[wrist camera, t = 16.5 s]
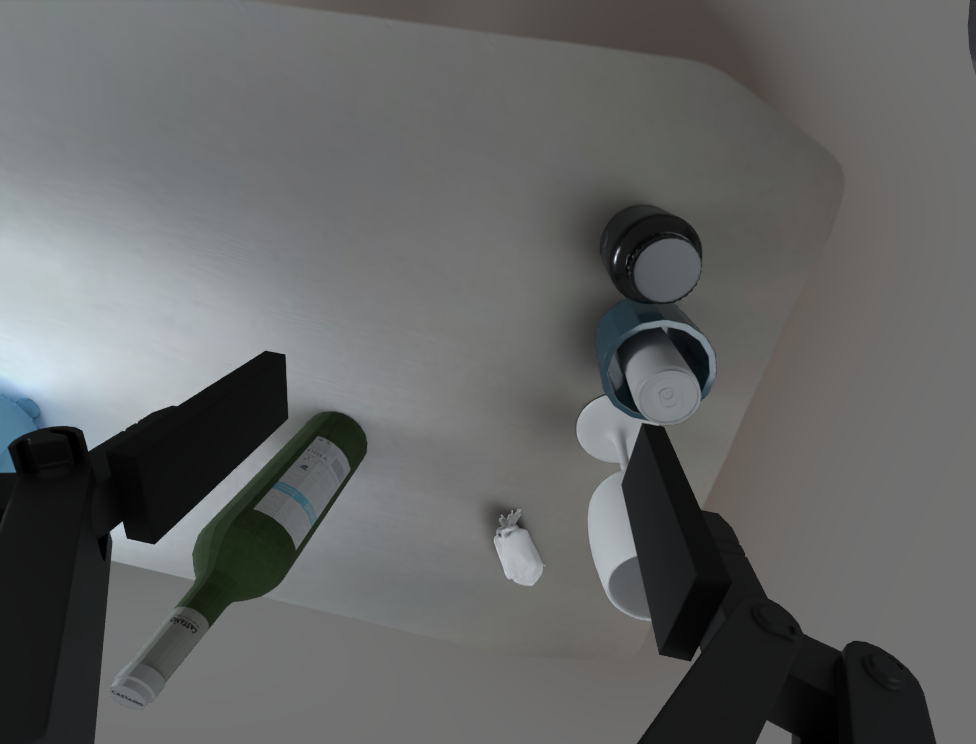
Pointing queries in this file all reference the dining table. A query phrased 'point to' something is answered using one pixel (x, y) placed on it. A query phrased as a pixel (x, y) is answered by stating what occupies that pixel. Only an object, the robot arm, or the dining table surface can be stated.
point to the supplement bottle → (651, 255)
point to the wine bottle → (250, 545)
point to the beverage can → (659, 377)
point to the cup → (638, 317)
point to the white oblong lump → (517, 551)
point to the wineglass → (613, 505)
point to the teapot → (14, 426)
